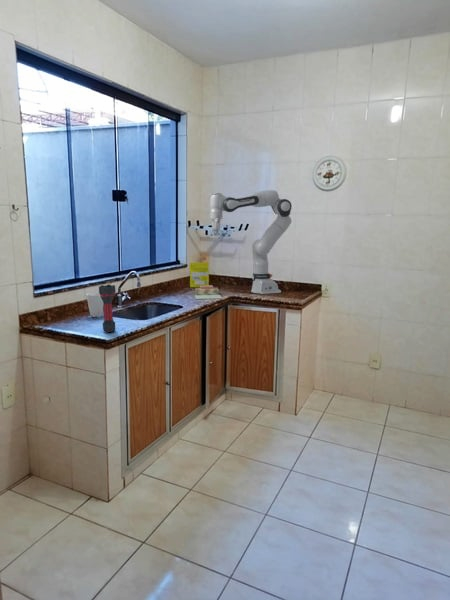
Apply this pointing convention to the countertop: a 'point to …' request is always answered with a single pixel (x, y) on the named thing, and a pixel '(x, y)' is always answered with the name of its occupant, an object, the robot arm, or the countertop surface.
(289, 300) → the countertop surface
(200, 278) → the food package
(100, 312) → the foam cup
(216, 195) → the robot arm
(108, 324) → the flashlight
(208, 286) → the terracotta tile
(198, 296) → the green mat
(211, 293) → the birch deck
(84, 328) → the countertop surface
